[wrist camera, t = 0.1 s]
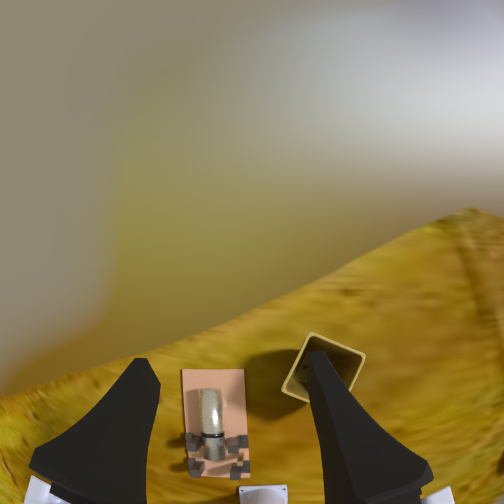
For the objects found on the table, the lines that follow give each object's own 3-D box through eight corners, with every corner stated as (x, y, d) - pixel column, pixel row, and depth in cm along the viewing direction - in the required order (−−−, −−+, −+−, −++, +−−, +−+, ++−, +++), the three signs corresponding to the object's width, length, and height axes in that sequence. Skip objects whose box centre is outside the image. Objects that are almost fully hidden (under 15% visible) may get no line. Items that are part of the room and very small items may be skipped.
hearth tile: (250, 476, 33) (250, 477, 33) (191, 473, 33) (191, 474, 33) (244, 368, 40) (243, 369, 40) (183, 368, 41) (182, 369, 40)
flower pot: (301, 334, 42) (309, 330, 33) (348, 354, 40) (367, 354, 32) (276, 383, 39) (279, 391, 31) (325, 403, 37) (339, 414, 29)
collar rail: (250, 471, 33) (248, 482, 29) (189, 468, 33) (182, 478, 29) (247, 434, 36) (245, 442, 32) (186, 432, 36) (177, 439, 32)
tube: (228, 454, 34) (223, 461, 31) (207, 452, 35) (200, 459, 31) (224, 387, 39) (218, 390, 35) (202, 387, 39) (194, 389, 36)
